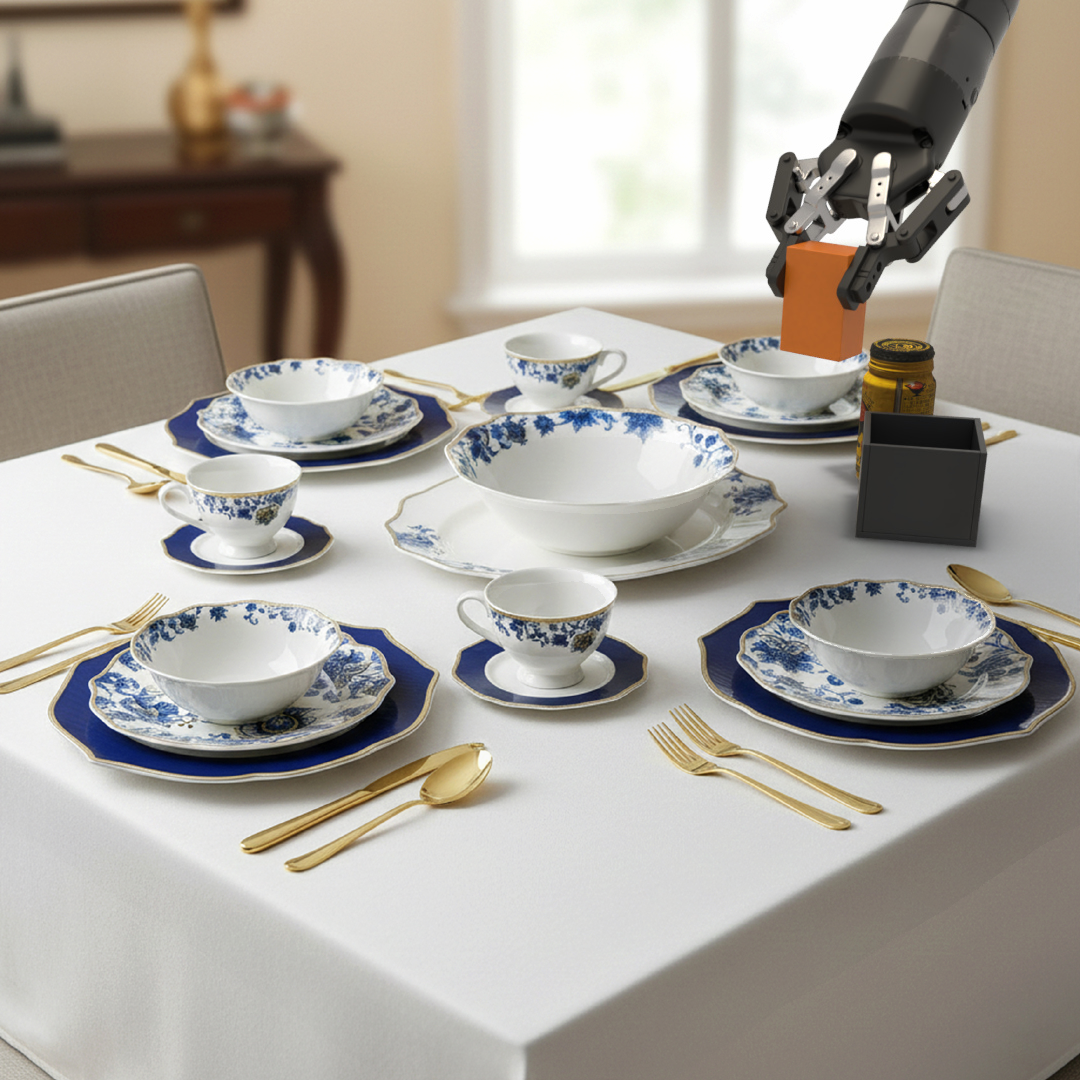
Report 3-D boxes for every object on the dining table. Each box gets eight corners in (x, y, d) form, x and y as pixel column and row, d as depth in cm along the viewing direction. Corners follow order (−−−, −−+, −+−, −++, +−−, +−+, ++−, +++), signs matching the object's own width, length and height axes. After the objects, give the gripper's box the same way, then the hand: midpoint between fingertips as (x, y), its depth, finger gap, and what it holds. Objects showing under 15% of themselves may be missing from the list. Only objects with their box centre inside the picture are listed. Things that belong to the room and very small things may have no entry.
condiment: (835, 472, 128) (846, 337, 123) (919, 462, 130) (932, 330, 126) (879, 499, 122) (892, 359, 117) (966, 488, 124) (983, 350, 120)
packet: (802, 342, 101) (810, 240, 98) (862, 353, 98) (871, 248, 95) (779, 350, 99) (786, 246, 96) (839, 362, 96) (848, 255, 93)
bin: (969, 509, 120) (980, 418, 117) (975, 550, 111) (987, 453, 108) (856, 500, 121) (865, 410, 118) (854, 540, 113) (863, 444, 110)
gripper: (808, 47, 101) (698, 247, 97) (1005, 58, 92) (893, 278, 88) (841, 121, 106) (738, 313, 103) (1029, 137, 98) (925, 348, 94)
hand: (810, 295), depth 95 cm, fingers closed on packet, 4 cm apart
